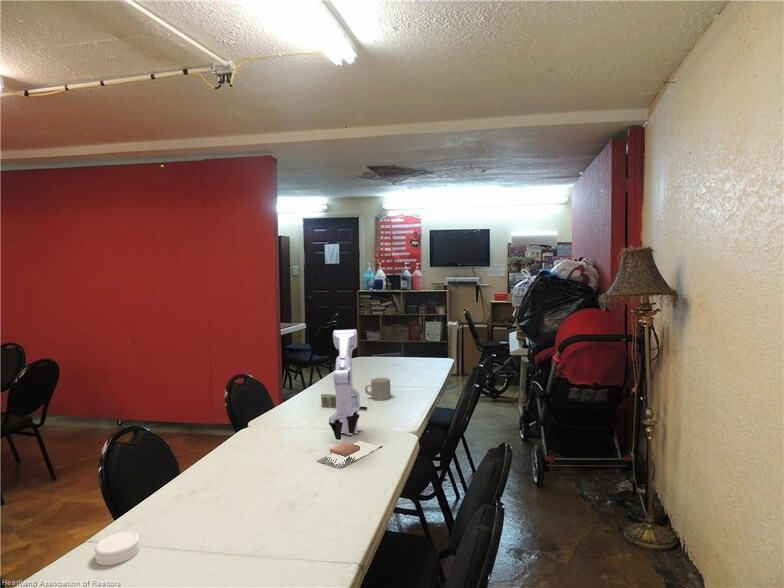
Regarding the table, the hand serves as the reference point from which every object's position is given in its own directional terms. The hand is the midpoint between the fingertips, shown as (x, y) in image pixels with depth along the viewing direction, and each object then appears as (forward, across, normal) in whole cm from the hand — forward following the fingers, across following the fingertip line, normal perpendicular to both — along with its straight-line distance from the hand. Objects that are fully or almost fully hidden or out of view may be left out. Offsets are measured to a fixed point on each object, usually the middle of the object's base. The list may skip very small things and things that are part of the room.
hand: (345, 436), depth 183 cm
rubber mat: (+6, 0, -2) cm, 7 cm away
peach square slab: (+5, 0, +4) cm, 7 cm away
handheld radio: (+7, +42, +39) cm, 58 cm away
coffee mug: (+7, +65, +35) cm, 74 cm away
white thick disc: (+7, -80, +6) cm, 81 cm away
